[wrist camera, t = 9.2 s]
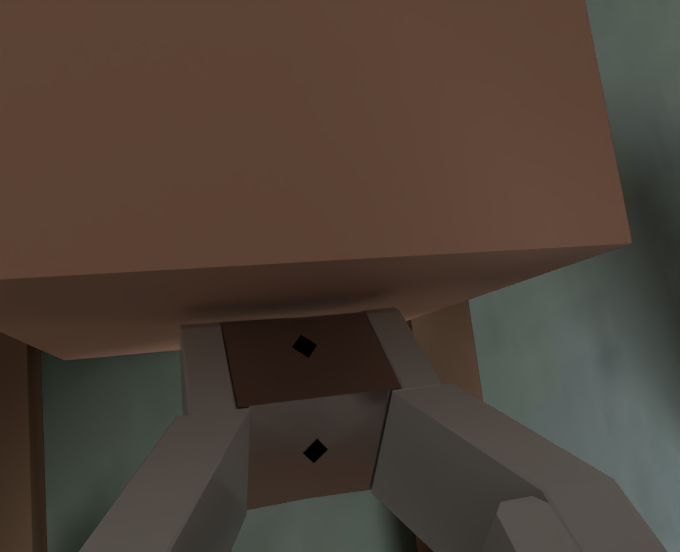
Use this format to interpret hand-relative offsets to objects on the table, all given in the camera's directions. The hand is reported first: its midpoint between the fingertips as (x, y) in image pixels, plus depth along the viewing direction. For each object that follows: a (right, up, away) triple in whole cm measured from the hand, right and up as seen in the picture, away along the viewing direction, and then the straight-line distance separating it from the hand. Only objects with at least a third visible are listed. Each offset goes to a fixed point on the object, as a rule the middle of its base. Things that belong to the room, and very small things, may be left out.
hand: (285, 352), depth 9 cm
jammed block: (-2, +3, +7) cm, 8 cm away
